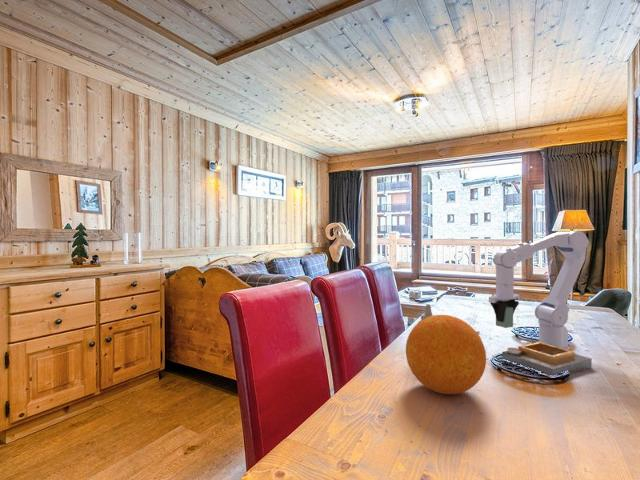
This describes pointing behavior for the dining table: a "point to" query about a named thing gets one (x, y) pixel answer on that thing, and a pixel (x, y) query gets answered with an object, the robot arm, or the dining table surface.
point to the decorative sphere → (445, 354)
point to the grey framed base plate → (547, 358)
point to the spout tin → (506, 318)
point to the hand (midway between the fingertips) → (504, 320)
